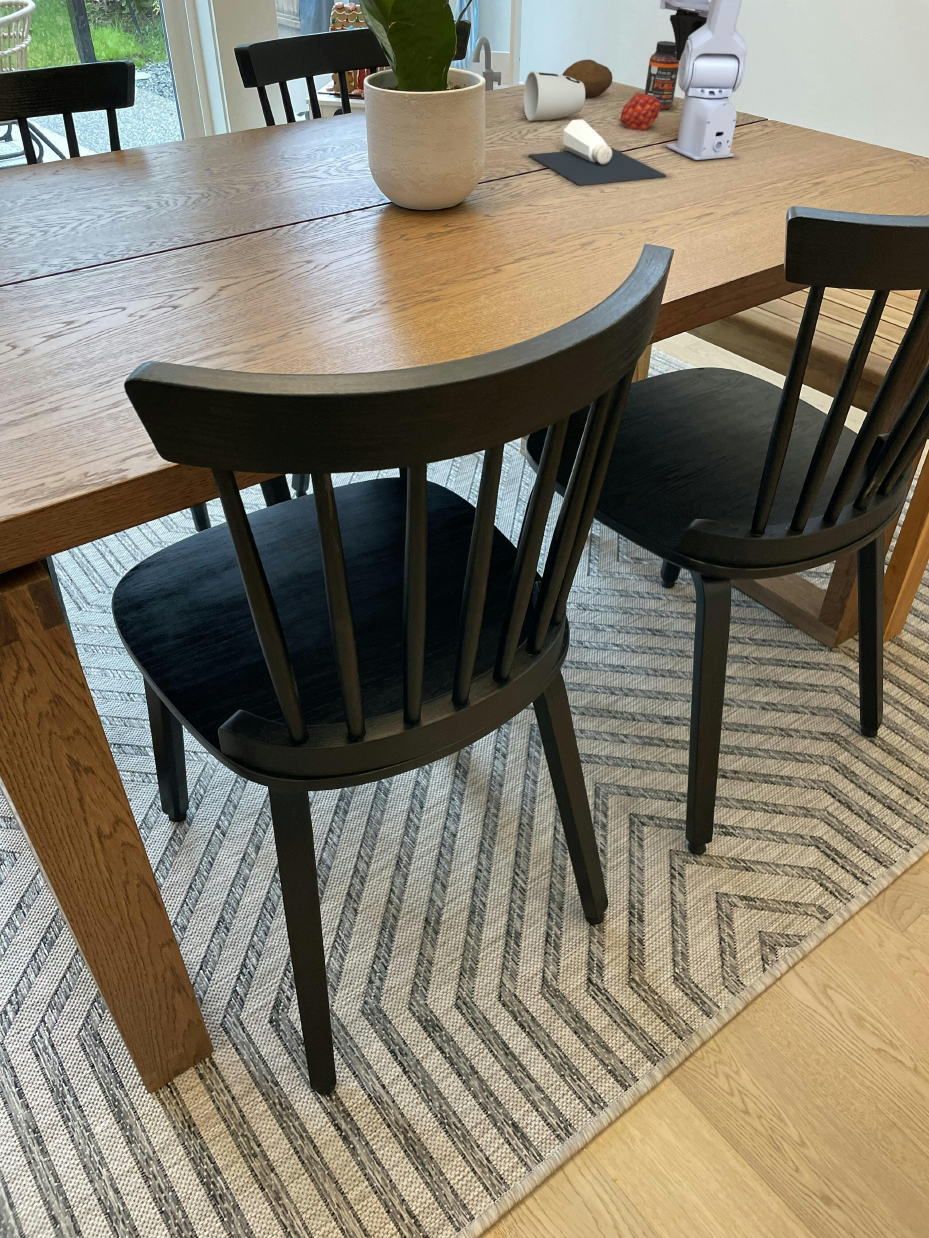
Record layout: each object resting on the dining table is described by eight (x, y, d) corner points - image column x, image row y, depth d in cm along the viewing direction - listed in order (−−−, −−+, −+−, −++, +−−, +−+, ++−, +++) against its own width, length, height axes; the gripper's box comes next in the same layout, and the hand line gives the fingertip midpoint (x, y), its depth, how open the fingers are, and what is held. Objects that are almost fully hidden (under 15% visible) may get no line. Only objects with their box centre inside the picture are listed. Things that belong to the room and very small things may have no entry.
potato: (618, 99, 192) (622, 60, 188) (571, 103, 188) (575, 64, 184) (600, 92, 197) (604, 55, 192) (554, 96, 193) (557, 58, 188)
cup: (588, 68, 171) (538, 66, 168) (588, 117, 173) (538, 116, 171) (571, 78, 178) (523, 77, 176) (571, 125, 181) (524, 124, 178)
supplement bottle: (650, 111, 184) (659, 45, 177) (638, 104, 189) (646, 40, 181) (677, 110, 186) (687, 45, 178) (664, 103, 190) (674, 39, 183)
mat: (665, 177, 149) (666, 175, 148) (578, 186, 144) (578, 184, 143) (610, 149, 161) (610, 147, 161) (528, 156, 156) (528, 154, 156)
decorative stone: (625, 136, 177) (666, 121, 174) (622, 139, 172) (665, 123, 169) (616, 101, 175) (658, 84, 172) (613, 102, 169) (656, 85, 166)
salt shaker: (555, 146, 158) (584, 167, 150) (570, 113, 155) (600, 132, 147) (580, 157, 160) (609, 178, 153) (594, 125, 158) (625, 144, 150)
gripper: (652, -33, 165) (641, 55, 174) (707, -23, 156) (692, 68, 165) (682, -34, 168) (669, 52, 177) (738, -25, 159) (722, 66, 168)
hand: (682, 60), depth 171 cm, fingers closed
